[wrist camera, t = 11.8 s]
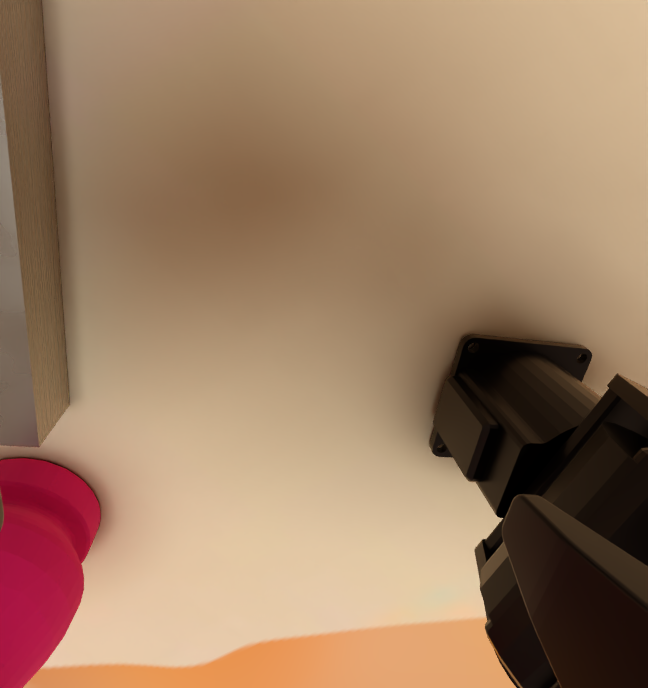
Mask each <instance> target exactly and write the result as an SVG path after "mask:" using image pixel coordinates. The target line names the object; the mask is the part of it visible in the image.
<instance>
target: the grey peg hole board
mask: <svg viewBox="0 0 648 688" xmlns="http://www.w3.org/2000/svg"><path fill="white" fill-rule="evenodd" d="M69 405H70V404H69V390H68V376H67V361H66V347H65V333H64V318H63V304H62V290H61V276H60V261H59V247H58V233H57V218H56V204H55V190H54V175H53V161H52V147H51V132H50V118H49V104H48V89H47V75H46V61H45V47H44V32H43V18H42V4H41V0H0V445H6V446H26V447H40V445H41V444H42V443H43V441H44V440H45V438H46V437H47V436H48V434H49V433H50V431H51V430H52V429H53V427H54V426H55V424H56V423H57V422H58V420H59V419H60V417H61V416H62V415H63V413H64V412H65V410H66V409H67V408H68V406H69Z"/></svg>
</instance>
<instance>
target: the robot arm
mask: <svg viewBox="0 0 648 688" xmlns="http://www.w3.org/2000/svg"><path fill="white" fill-rule="evenodd" d="M471 343H475V346H474V347H473V348H472V349H468V347H469V345H470V344H471ZM580 354H581V357H580V358H578V359H577V357H578V356H579V355H580ZM591 358H592V353H591V352H590V350H588V349H587V348H585V347H584V346H581V345H572V344H563V343H553V342H543V341H534V340H524V339H515V338H505V337H496V336H486V335H477V334H469V335H467V336H465V337H464V338H463V339H462V340H461V342H460V344H459V347H458V350H457V354H456V357H455V360H454V364H453V367H452V371H451V374H450V376H449V377H448V378H447V379H446V380H445V383H444V387H443V390H442V394H441V397H440V400H439V404H438V407H437V411H436V414H435V417H434V421H433V424H434V426H435V427H434V431H433V434H432V438H431V441H430V448H431V450H432V452H433V454H434V455H436V456H439V457H453V458H454V459H455V461H456V463H457V464H458V466H459V468H460V469H461V471H462V473H463V475H464V476H465V477H466V479H467V480H468V481H469V482H476V483H477V485H478V487H479V488H480V490H481V491H482V493H483V495H484V496H485V498H486V499H487V501H488V503H489V504H490V506H491V507H492V509H493V511H494V512H495V514H496V515H497V517H500V518H503V519H502V521H501V522H500V523H499V524H498V525H497V527H496V528H495V529H494V530H493V532H492V533H491V534H490V535H489V537H488V538H487V539H483V540H482V541H481V542H480V543H479V544H478V546H477V547H476V548H475V555H476V561H477V566H478V572H479V578H480V590H481V594H482V597H483V600H484V605H485V611H486V616H487V623H486V624H485V629H486V633H487V637H488V639H489V641H490V643H491V644H492V646H493V648H494V650H495V653H496V655H497V657H498V659H499V662H500V663H501V665H502V667H503V668H504V670H505V672H506V673H507V675H508V676H509V678H510V679H511V681H512V682H513V683H514V685H515V686H516V687H517V688H648V389H647V388H645V387H643V386H641V385H639V384H637V383H635V382H633V381H631V380H629V379H627V378H625V377H623V376H621V375H619V374H616V375H615V377H614V378H613V379H612V380H611V382H610V383H609V384H608V385H607V386H608V387H609V389H608V390H607V392H606V393H605V394H604V395H603V397H602V398H601V397H600V396H599V395H598V394H596V393H595V392H594V391H592V390H591V389H590V388H588V387H587V386H586V385H584V384H583V383H582V380H583V377H584V375H585V373H586V370H587V368H588V366H589V363H590V361H591ZM441 444H444V445H443V446H442V447H440V448H438V446H439V445H441ZM3 521H4V510H3V503H2V497H1V490H0V531H1V528H2V525H3Z"/></svg>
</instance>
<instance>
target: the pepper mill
mask: <svg viewBox="0 0 648 688" xmlns="http://www.w3.org/2000/svg"><path fill="white" fill-rule="evenodd" d="M0 490H1V497H2V503H3V510H4V521H3V525H2V528H1V531H0V688H23V687H24V685H25V684H26V683H27V682H28V681H29V680H30V679H31V678H32V677H33V676H34V674H35V673H36V672H37V671H38V670H39V669H40V668H41V667H42V666H43V665H44V663H45V662H46V661H47V660H48V658H49V657H50V655H51V654H52V653H53V651H54V650H55V648H56V647H57V646H58V644H59V643H60V641H61V640H62V639H63V637H64V636H65V633H66V631H67V629H68V627H69V625H70V623H71V621H72V619H73V617H74V615H75V613H76V611H77V609H78V607H79V605H80V602H81V598H82V594H83V591H84V575H83V569H82V565H81V563H82V562H83V561H84V559H85V557H86V556H87V554H88V551H89V549H90V547H91V544H92V542H93V540H94V537H95V535H96V533H97V530H98V527H99V524H100V518H101V514H100V507H99V503H98V501H97V499H96V497H95V495H94V493H93V491H92V490H91V489H90V488H89V487H88V485H87V484H86V483H85V482H84V481H83V480H82V479H80V478H79V477H77V476H76V475H75V474H73V473H72V472H70V471H69V470H67V469H66V468H63V467H60V466H57V465H55V464H52V463H49V462H47V461H43V460H35V459H27V458H17V459H4V460H0Z"/></svg>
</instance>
